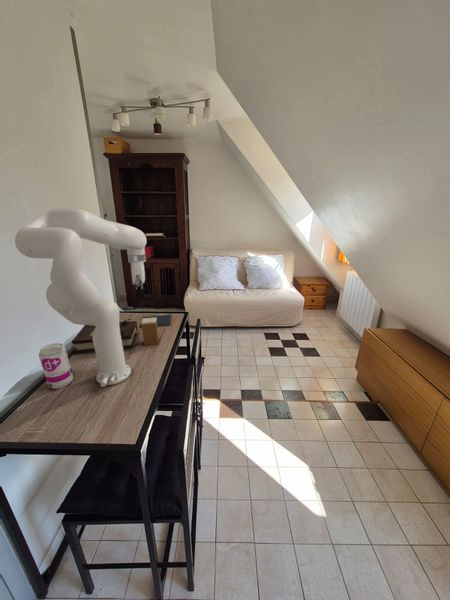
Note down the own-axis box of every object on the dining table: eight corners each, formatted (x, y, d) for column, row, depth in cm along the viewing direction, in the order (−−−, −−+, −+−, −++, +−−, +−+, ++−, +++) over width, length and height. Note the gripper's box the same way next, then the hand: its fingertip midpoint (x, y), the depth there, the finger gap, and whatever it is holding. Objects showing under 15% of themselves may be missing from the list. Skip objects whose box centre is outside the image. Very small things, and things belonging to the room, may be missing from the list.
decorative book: (80, 322, 127) (141, 318, 132) (83, 336, 130) (143, 330, 135) (64, 341, 109) (135, 335, 114) (68, 356, 112) (137, 349, 117)
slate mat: (169, 325, 141) (169, 324, 140) (140, 327, 138) (140, 326, 138) (170, 315, 154) (170, 314, 153) (143, 317, 151) (143, 316, 151)
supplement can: (68, 388, 92) (58, 353, 86) (43, 391, 90) (32, 355, 85) (77, 374, 99) (68, 341, 94) (54, 377, 98) (44, 343, 93)
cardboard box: (158, 344, 121) (155, 321, 117) (144, 345, 120) (141, 322, 116) (159, 339, 126) (156, 317, 121) (145, 340, 125) (142, 318, 120)
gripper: (130, 255, 120) (135, 289, 125) (125, 262, 104) (130, 300, 109) (146, 254, 121) (150, 288, 127) (144, 261, 105) (148, 299, 111)
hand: (141, 294), depth 118 cm, fingers open, 9 cm apart
